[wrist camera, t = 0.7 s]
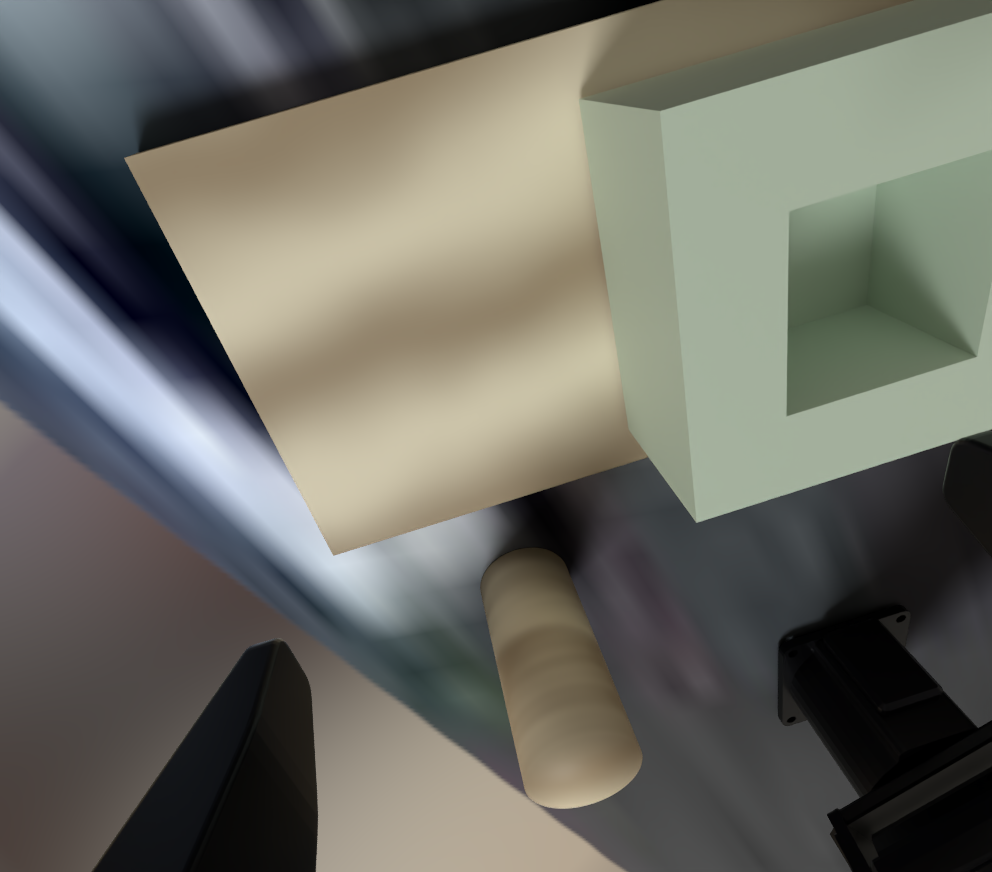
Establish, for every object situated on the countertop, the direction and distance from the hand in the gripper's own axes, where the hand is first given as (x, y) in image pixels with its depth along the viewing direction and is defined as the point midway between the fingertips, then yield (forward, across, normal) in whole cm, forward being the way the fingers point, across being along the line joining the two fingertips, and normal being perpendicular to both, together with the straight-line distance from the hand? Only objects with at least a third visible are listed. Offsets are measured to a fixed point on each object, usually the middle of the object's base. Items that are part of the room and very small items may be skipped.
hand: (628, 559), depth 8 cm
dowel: (+12, +1, +12) cm, 18 cm away
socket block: (+11, -8, +1) cm, 14 cm away
